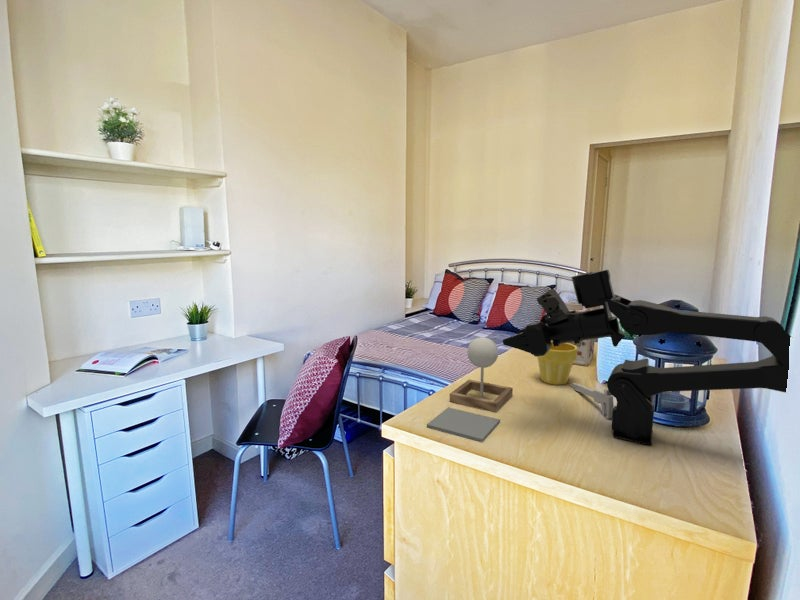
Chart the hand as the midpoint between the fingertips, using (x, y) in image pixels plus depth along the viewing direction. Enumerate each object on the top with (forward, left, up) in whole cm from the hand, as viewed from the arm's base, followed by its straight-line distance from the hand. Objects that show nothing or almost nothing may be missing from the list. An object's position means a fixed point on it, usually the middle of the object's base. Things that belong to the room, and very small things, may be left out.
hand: (510, 337), depth 93 cm
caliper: (-15, -13, -17) cm, 26 cm away
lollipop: (+7, -1, -16) cm, 18 cm away
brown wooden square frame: (+7, -1, -16) cm, 18 cm away
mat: (+5, +14, -16) cm, 22 cm away
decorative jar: (-5, -46, -16) cm, 50 cm away
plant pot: (-5, -23, -16) cm, 29 cm away
